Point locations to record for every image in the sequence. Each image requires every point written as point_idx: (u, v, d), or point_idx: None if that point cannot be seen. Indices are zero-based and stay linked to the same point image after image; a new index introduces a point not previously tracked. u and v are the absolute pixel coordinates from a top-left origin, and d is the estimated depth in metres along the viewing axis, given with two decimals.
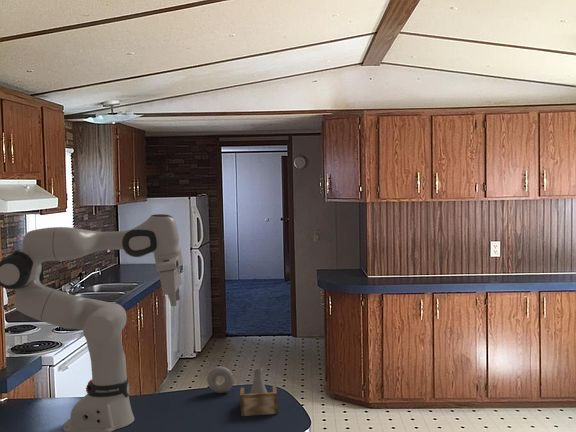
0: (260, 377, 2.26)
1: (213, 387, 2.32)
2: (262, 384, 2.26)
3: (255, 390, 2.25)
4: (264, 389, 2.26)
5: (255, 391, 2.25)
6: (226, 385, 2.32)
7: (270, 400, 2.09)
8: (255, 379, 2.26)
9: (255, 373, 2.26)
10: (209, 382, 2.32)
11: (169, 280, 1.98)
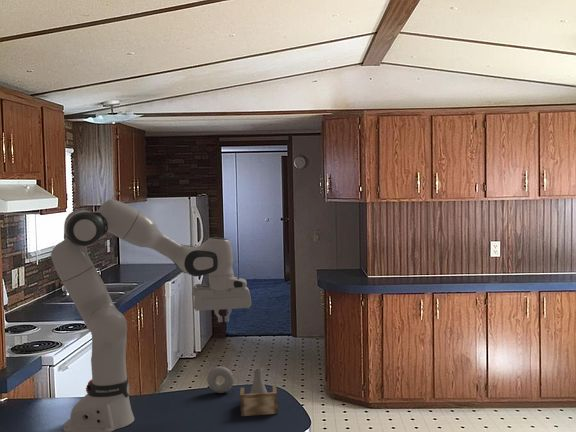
0: (260, 377, 2.26)
1: (213, 387, 2.32)
2: (262, 384, 2.26)
3: (255, 390, 2.25)
4: (264, 389, 2.26)
5: (255, 391, 2.25)
6: (226, 385, 2.32)
7: (270, 400, 2.09)
8: (255, 379, 2.26)
9: (255, 373, 2.26)
10: (209, 382, 2.32)
11: None
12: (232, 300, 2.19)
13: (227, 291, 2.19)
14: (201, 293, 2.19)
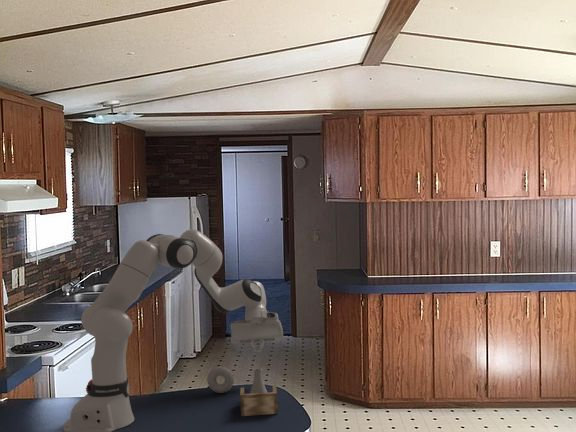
0: (260, 377, 2.26)
1: (213, 387, 2.32)
2: (262, 384, 2.26)
3: (255, 390, 2.25)
4: (264, 389, 2.26)
5: (255, 391, 2.25)
6: (226, 385, 2.32)
7: (270, 400, 2.09)
8: (255, 379, 2.26)
9: (255, 373, 2.26)
10: (209, 382, 2.32)
11: None
12: (265, 330, 2.43)
13: (261, 322, 2.44)
14: (238, 325, 2.44)
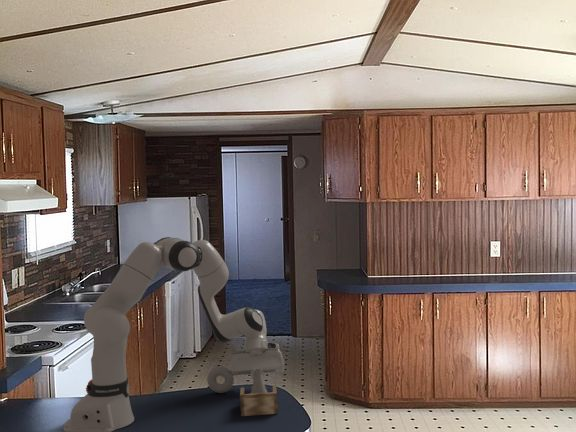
0: (260, 377, 2.26)
1: (213, 387, 2.32)
2: (262, 384, 2.26)
3: (255, 390, 2.25)
4: (264, 389, 2.26)
5: (255, 391, 2.25)
6: (226, 385, 2.32)
7: (270, 400, 2.09)
8: (255, 379, 2.26)
9: (255, 373, 2.26)
10: (209, 382, 2.32)
11: None
12: (266, 361, 2.33)
13: (261, 353, 2.35)
14: (237, 356, 2.34)
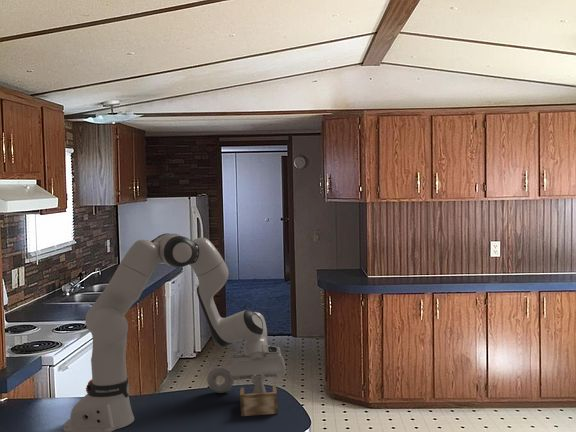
0: (261, 383, 2.19)
1: (213, 387, 2.32)
2: (263, 390, 2.19)
3: None
4: None
5: None
6: (226, 385, 2.32)
7: (270, 400, 2.09)
8: (256, 384, 2.19)
9: (256, 378, 2.19)
10: (209, 382, 2.32)
11: None
12: (267, 365, 2.27)
13: (262, 357, 2.28)
14: (237, 360, 2.28)
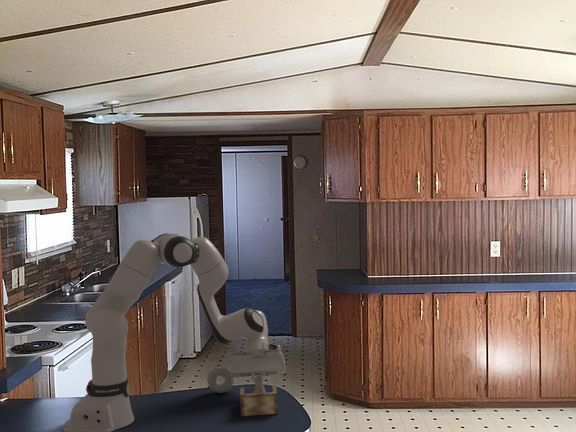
0: (261, 384, 2.18)
1: (213, 387, 2.32)
2: (263, 392, 2.18)
3: None
4: None
5: None
6: (226, 385, 2.32)
7: (270, 400, 2.09)
8: (256, 386, 2.18)
9: (256, 380, 2.18)
10: (209, 382, 2.32)
11: None
12: (267, 363, 2.28)
13: (262, 354, 2.29)
14: (238, 357, 2.29)
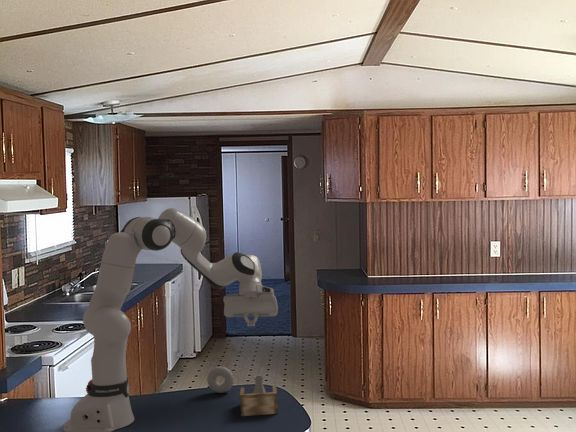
0: (261, 384, 2.18)
1: (213, 387, 2.32)
2: (263, 392, 2.18)
3: None
4: None
5: None
6: (226, 385, 2.32)
7: (270, 400, 2.09)
8: (256, 386, 2.18)
9: (256, 380, 2.18)
10: (209, 382, 2.32)
11: None
12: (260, 304, 2.35)
13: (256, 296, 2.36)
14: (232, 298, 2.36)
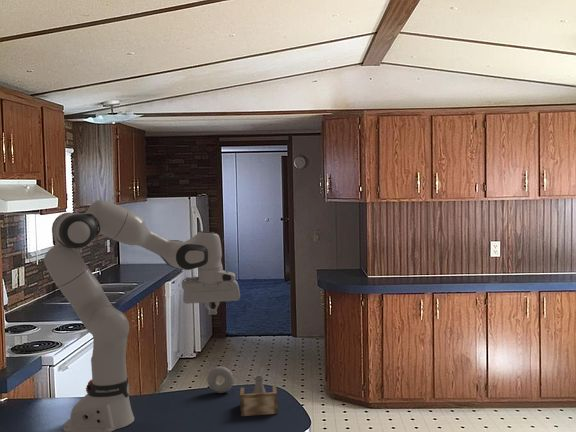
0: (261, 384, 2.18)
1: (213, 387, 2.32)
2: (263, 392, 2.18)
3: None
4: None
5: None
6: (226, 385, 2.32)
7: (270, 400, 2.09)
8: (256, 386, 2.18)
9: (256, 380, 2.18)
10: (209, 382, 2.32)
11: (238, 287, 2.26)
12: (221, 293, 2.23)
13: (216, 284, 2.22)
14: (190, 286, 2.22)
